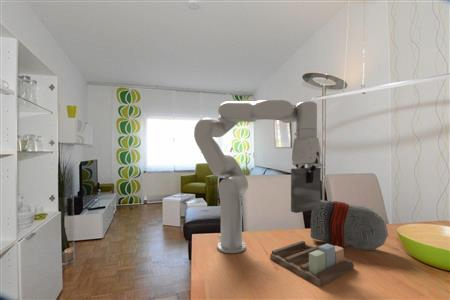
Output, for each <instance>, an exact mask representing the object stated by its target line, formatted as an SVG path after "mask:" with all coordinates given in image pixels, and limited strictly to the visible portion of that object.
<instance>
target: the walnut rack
mask: <svg viewBox="0 0 450 300" xmlns="http://www.w3.org/2000/svg"><path fill="white" fill-rule="evenodd" d="M316 250H319V246H313V245H310V244H308V243H306V241H305V240H301V241H298V242H294V243H292V244H289V245H285V246H282V247H279V248H276V249H273V250H271V253H270V255H269V256H270V257H269V258H270V260H272V261H274V262H275V263H277V264H278V265H281V266H282V267H284V268H286V269H288V270H289V271H291V272H293V273H294V274H296V275H299V276H300V277H302V278H304V279H305V280H307V281H308V282H311V283H313V284H314V285H316V286H317V287H322V286H323V285H326V284H328V283H329V282H331V281H333V280H335V279H337V278H339V277H341V276H342V275H345V274H347V273H349V272H351V271H352V270H354V269H355V263H354V262H353V261H354V260H351V259H345V258H344V262H342V263H340V264H337V265H335V266H333V267H331V268H329V269H327V270H325V271H323V272H320V273H318V274H317V276H316V275H314V274H312V273H310V272H309V253H311V252H313V251H316ZM291 254H292V255H291ZM306 261H308V262H306ZM302 262H303V263H304V262H306V263H304V264H300V263H302ZM298 264H300V266H299V265H298Z"/></svg>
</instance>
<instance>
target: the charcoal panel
mask: <svg viewBox="0 0 450 300" xmlns="http://www.w3.org/2000/svg"><path fill="white" fill-rule="evenodd" d="M321 169H322V168H321V167H319V168H317V169H316V170H315V172H313V183H307V182H306V172H308V168H307V167H305V168H297V167H296V168H291V169H290V172H291V173H290V212H292V213H294V214H299V213H304V212H308V211H312V210H314V209H318V208H320V200H321V185H322V183H321V182H322V181H321V177H322V175H321V174H322V173H321Z"/></svg>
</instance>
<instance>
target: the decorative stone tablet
mask: <svg viewBox="0 0 450 300" xmlns="http://www.w3.org/2000/svg"><path fill="white" fill-rule="evenodd" d="M310 215H311V217H310V238H311V239H312V240H317V241H320V242H325V243H328V244H330V245H333V246H339V247H341V248H344V247H351V248H353V249H355V250H358V251H359V250H360V251H374V250H376V249H378V248H380V247H383V246H384V245H385V244H386V241H387V238H388V236H389V232H388V227H387V223H386V222H385V220H384V218H383V217H382V216H381V215H380V214H379V213H376V211H375V210H374V209H372V208H369V207H365V206H362V205H355V204H349V203H346V202H341V201H336V200H334V201H329V200H325V199H324V200H323V199H320V208H318V209H314V210H311V214H310Z"/></svg>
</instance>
